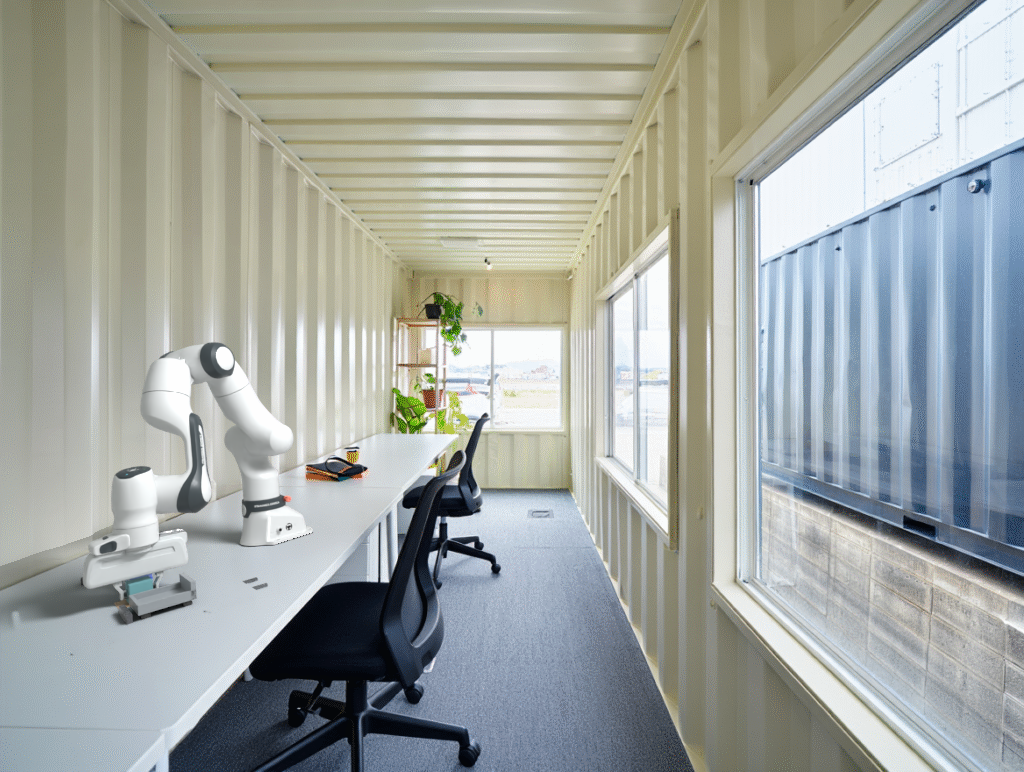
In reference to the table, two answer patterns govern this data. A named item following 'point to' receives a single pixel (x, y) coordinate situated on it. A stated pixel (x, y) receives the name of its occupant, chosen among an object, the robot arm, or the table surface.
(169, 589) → the grey sliding tray
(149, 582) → the block
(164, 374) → the robot arm
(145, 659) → the table surface
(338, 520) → the table surface
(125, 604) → the pad
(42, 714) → the table surface
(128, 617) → the rails
